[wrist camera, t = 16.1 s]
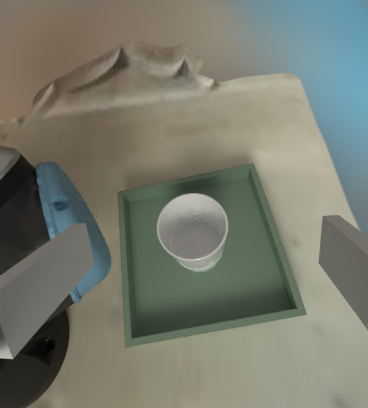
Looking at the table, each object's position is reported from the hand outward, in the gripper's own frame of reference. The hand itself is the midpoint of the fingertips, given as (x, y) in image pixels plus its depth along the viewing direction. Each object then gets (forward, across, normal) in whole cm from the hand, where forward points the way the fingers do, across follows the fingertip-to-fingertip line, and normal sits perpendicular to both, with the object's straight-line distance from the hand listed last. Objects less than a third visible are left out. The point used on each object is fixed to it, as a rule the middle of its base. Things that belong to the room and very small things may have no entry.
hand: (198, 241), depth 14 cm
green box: (+21, -2, -12) cm, 24 cm away
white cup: (+20, -2, -11) cm, 23 cm away
